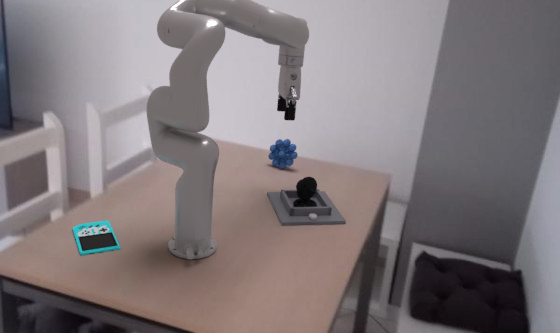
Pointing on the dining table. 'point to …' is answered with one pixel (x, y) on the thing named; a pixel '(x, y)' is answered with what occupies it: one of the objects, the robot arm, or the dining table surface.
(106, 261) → the dining table surface
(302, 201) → the webcam
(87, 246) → the handheld game console
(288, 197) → the housing
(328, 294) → the dining table surface
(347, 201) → the dining table surface
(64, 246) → the dining table surface
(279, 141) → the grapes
